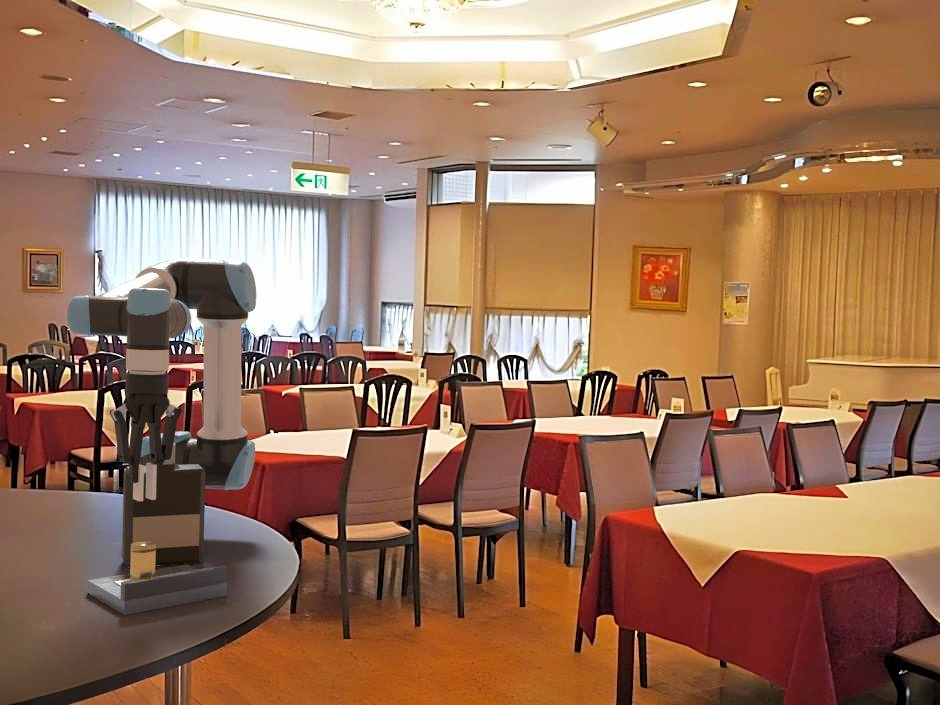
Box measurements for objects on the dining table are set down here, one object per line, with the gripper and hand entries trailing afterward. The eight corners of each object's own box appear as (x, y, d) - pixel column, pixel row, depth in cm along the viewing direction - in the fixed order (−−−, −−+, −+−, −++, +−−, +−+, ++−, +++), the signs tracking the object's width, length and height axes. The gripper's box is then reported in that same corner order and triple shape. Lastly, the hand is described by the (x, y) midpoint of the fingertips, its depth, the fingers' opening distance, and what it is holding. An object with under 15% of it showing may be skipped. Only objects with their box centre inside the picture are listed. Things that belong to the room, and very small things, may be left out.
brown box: (120, 559, 214) (123, 442, 213) (198, 554, 221) (201, 440, 219) (125, 569, 207) (127, 447, 205) (204, 563, 213) (208, 445, 212)
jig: (186, 576, 203) (187, 549, 203) (226, 595, 191) (227, 567, 191) (87, 593, 190) (88, 564, 189) (124, 615, 178) (124, 584, 178)
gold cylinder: (148, 592, 192) (149, 540, 191) (158, 598, 188) (160, 545, 188) (125, 596, 189) (126, 543, 188) (136, 602, 185) (137, 548, 185)
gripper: (175, 369, 194) (172, 491, 195) (99, 371, 184) (96, 500, 185) (194, 373, 189) (190, 498, 190) (116, 374, 179) (114, 507, 180)
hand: (144, 499), depth 188 cm, fingers open, 2 cm apart
